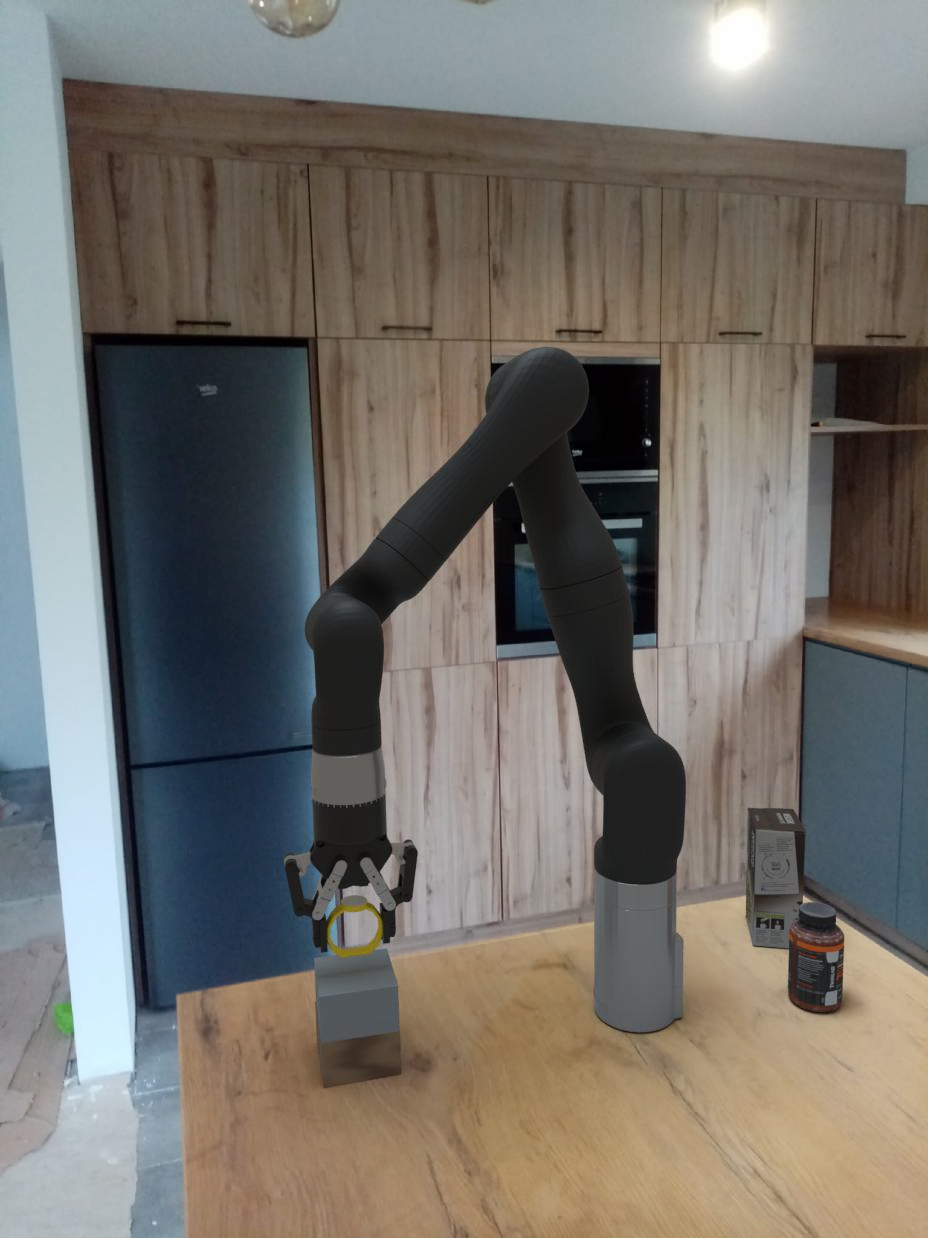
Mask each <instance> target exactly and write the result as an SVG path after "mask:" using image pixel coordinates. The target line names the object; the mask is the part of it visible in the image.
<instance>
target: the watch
mask: <svg viewBox="0 0 928 1238" xmlns="http://www.w3.org/2000/svg"><path fill="white" fill-rule="evenodd" d="M365 910H366V911H369V912H372V913H373V915H374V917H375V918H376V919H377V925H378V927H377V929H376V932H375V935H374V937H373V938H372V939H371V940H370V942H369V943H367V944H366V945H363V946H358V947H351V948H345V949H342V948H341V947H339V946H337V945H336V944H334V941H333V940H332V938H331V928H332V926H333V924H334V922H335V920H336V919H337V917H339V916H341V914H343V913H344V912H346V913H359V912H362V911H365ZM326 922H327V946H329V947H328V948H329V949H330V950H331V952H332V953H333V954H335V955H338V956H340V957H341V958H346V957H352V956H358V955H366V954H368V955H369V954H371V952H372V951H373V950H376V949H377V947H379V945H380V944H381V941H382V936H383V922H382V917H381V915H380V911H379V910H378V909H377V907H376V906H375V905H374V904H372V903H371V902H369V901H368V899H367V897H365V896H362V895H357V894H355V895H353V894H352V895H346V896H345V897H343V898H342V899H341V900H340V904H339V905H337V906H336V907H334V908H333V909H332V910H331V912H330V914H329V915H328V917H327V918H326Z"/></svg>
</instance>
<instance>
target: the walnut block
mask: <svg viewBox="0 0 928 1238" xmlns="http://www.w3.org/2000/svg"><path fill="white" fill-rule="evenodd" d="M314 1005H315V1006H314V1007H315V1008H314V1009H315V1026H316V1027H315V1029H316V1032H315V1033H316V1046H317V1052H318V1058H319V1066H320V1072H321V1078H322V1085H323V1086H322V1087H323V1089H329V1088H333V1087H340V1086H346V1085H351V1084H356V1083H363V1082H368V1081H373V1080H378V1079H379V1080H380V1079H386V1078H390V1077H396V1076H401V1075H402V1052H401V1051H402V1047H401V1030H400V1031H399V1032H392V1033H386V1034H379V1035H373V1036H366V1037H360V1038H353V1039H347V1040H340V1041H334V1042H328V1043H322V1044H321V1037H320V1029H319V1021H318V1013H317V1005H316V1001H314Z"/></svg>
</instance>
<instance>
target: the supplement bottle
mask: <svg viewBox="0 0 928 1238" xmlns="http://www.w3.org/2000/svg"><path fill="white" fill-rule="evenodd" d="M798 917H799V919H797V920H795V921H794V922H793V923H792V924H791V926H790V931H789V949H788V961H787V962H788V965H787V967H788V970H787V971H788V972H787V994H788V996H789V999H790V1000H791V1001H792V1002H793V1003H794V1004H795V1005H797V1006H798V1007H799V1008H802V1009H804V1010H807V1011H811V1012H814V1013H815V1012H816V1013H830V1012H831V1013H832V1012H834V1011H836V1010H838V1009H840V1007H841V1006H842V1001H843V991H844V990H843V989H844V986H843V983H844V960H845V959H844V957H845V956H844V955H845V954H844V953H845V933H844V931H843V930H842V929H841V927H840V926H838V925H837V911H836V910H835V908H834V907H832V906H831V905H828V904H826V903H823V902H815V901H812V902H811V901H810V902H809V901H807V902H803V904H801V905H800V906H799V914H798Z"/></svg>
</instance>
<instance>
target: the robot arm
mask: <svg viewBox="0 0 928 1238" xmlns="http://www.w3.org/2000/svg"><path fill="white" fill-rule="evenodd" d="M589 386H590V385H589V380H588V376H587V373H586V371H585V369H584V367H583V365H582V363H581V362H580V361H579V360H578V359H577V358H576V357H575V356H574V355H573V354H572V353H570V352H568V351H567V350H565V349H563V348H559V347H555V346H542V347H541V346H540V347H535V348H531V349H529V350H525V351H523V352H521V353H519V354H518V355H516V356H515V357H513V358H512V359H510V360H509V361H507V362H506V363H504V364H503V365H501V366H500V367H499V368H497V370H495V372H494V373H493V374H492V375H491V377H490V380H489V381H488V383H487V386H486V389H485V395H484V406H485V407H484V408H485V416H484V417H483V419H482V420H481V422H479V424H478V425H477V427H476V428H475V429H474V430H473V432H472V433H471V435H470V436H469V437H468V438H467V439H466V440H465V441H464V443H463V444H461V446H460V447H459V448H458V449H457V451H456V452H455V453H454V454H453V455H452V456H451V457H450V458H449V459H448V460H447V461H446V462H445V463H444V464H443V465H442V466H441V467H439V469H438V470H437V471H436V472H434V473H433V474H432V475H431V476H430V478H428V479H427V480H426V481H425V482H424V483H423V484H422V485H421V486H420V487H419V488H418V489H417V490H416V491H415V492H414V493H413V494H412V495H411V496H410V497H409V498H408V499H407V500H406V502H404V503H403V504H402V506H401V507H400V508H399V509H398V510H397V511H396V513H395V514H394V515H393V516H392V517H391V518H390V520H389V521H388V522H387V523H386V525H384V527H383V528H382V529H381V530H380V531H379V532H378V534H377V535H376V536H375V538H374V539H373V540H372V541H371V543H370V544H369V545H368V547H367V548H366V550H365V551H364V552H363V553H362V555H361V556H360V557H359V558H358V559H357V560H356V561H354V563H352V565H351V566H349V567H348V568H346V570H345V571H344V572H343V573H342V574H341V575H340V576H339V577H337V578H336V580H334V582H333V583H332V584H331V585H330V586H329V587H328V588H327V589H326V590H325V591H324V592H323V593H322V594H321V595H320V597H319V598H317V600H316V601H315V602H314V604H313V605H312V606H311V608H310V610H309V612H308V613H307V616H306V618H305V622H304V636H305V640H306V643H307V645H308V646H309V647H310V649H311V650H312V651H313V664H314V678H315V679H314V686H315V697H314V698H313V701H312V704H311V715H310V716H311V718H310V719H311V738H312V739H311V740H312V741H311V742H312V756H311V757H312V758H311V764H310V765H311V766H310V767H311V768H310V780H311V781H310V783H311V787H310V791H311V801H312V802H311V803H312V808H311V809H312V828H313V841H312V845H311V847H310V849H309V851H307V852H304V853H300V854H294V853H293V852H288V853H286V854H285V855H284V857H283V862H284V870H285V875H286V878H287V884H288V889H289V890H288V891H289V893H290V898H291V899H290V900H291V903H292V909H293V913H294V915H295V916H296V917H299V918H300V917H303V916H305V917H309V919H311V933H312V934H311V935H312V938H311V939H312V942H313V945H314V948H315V949H319V950H320V953H321V954H323V953H328V952H329V951H328V948H329V947H328V943H327V922H326V921H327V917H326V911H327V909H328V907H329V904H330V902H332V901H333V899H334V897H335V894H336V891H337V889H338V890H344V889H345V890H346V889H348V888H351V887H359V888H363V887H369V884H370V885H371V886H372V888H373V890H374V891H375V893H376V895H377V896H378V898H379V900H380V902H379V913H380V915H381V917H382V922H383V936H382V939H381V941H382V944H383V945H385V944H391V938H394V937H395V936H396V932H397V924H396V923H397V922H396V921H397V920H396V909H397V908H398V906H399V905H401V904H403V903H409V902H411V901H412V900H413V896H414V887H415V882H416V881H415V879H416V874H417V873H416V870H417V865H418V856H419V853H418V849H417V847H416V845H415V843H414V842H413V840H411V839H409V838H408V839H405V840H404V841H403V842H391V841H390V839H389V838H388V830H387V829H388V828H387V826H388V825H387V822H388V821H387V799H386V798H387V797H386V795H387V794H386V792H387V791H386V789H387V778H386V768H385V761H384V754H383V747H382V745H383V744H382V743H383V742H382V719H381V718H382V717H381V709H380V708H381V707H380V697H381V690H382V683H383V671H384V659H385V640H384V630H383V629H384V628H383V626H382V625H383V624H384V622H386V620H388V618H389V617H390V616H391V615H392V613H393V612H394V611H395V610H396V609H397V608H398V607H399V606H401V604H403V603H404V602H408V601H410V600H412V599H414V598H415V597H416V596H417V595H419V593H420V592H421V591H422V590H423V589H424V588H425V587H426V586H427V585H428V583H429V582H430V581H431V580H432V578H433V577H434V576H435V575H436V574H437V573H438V571H440V569H441V567H442V566H444V564H445V562H447V561H448V560H449V558H450V556H451V555H452V554H453V553H454V552H455V550H456V549H457V548H458V547H459V545H460V544H461V543H462V542H463V541H464V539H465V538H466V536H467V535H469V532H470V531H471V530H472V529H473V528H474V527H475V526H476V525H477V523H478V521H480V520H481V518H482V517H483V516H484V514H485V513H486V512H487V511H488V510H489V509H490V507H491V506H492V505H493V504H494V502H495V501H497V499H498V498H499V497H500V496H501V495H502V493H503V492H504V491H505V490H506V489H507V488H508V487H509V486H510V485H512V486H513V489H514V492H515V494H516V495H515V496H516V498H517V501H518V505H519V510H520V514H521V519H522V523H523V527H524V532H525V536H526V540H527V543H528V547H529V551H530V554H531V558H532V562H533V566H534V570H535V573H536V579H537V582H538V587H539V589H540V590H539V591H540V595H541V597H542V602H543V606H544V610H545V613H546V616H547V620H548V623H549V624H550V628H551V631H552V635H553V637H554V641H555V643H556V647H557V651H558V653H559V656H560V659H561V661H562V664H563V667H564V670H565V673H566V675H567V678H568V680H569V683H570V686H571V689H572V692H573V696H574V700H575V704H576V709H577V715H578V720H579V721H578V722H579V726H580V733H581V738H582V745H583V746H582V747H583V751H584V752H583V753H584V757H585V764H586V765H585V766H586V768H587V773H588V775H589V778H590V780H591V782H592V784H593V786H594V787H595V788H596V790H597V791H598V792H599V793H600V795H602V796H603V798H602V799H603V802H602V803H603V805H602V806H603V809H602V811H603V812H602V813H603V814H602V835H601V836H600V837H599V838H598V839H596V841H595V843H594V848H593V904H594V905H593V911H594V912H593V923H594V924H593V929H594V930H593V938H594V939H593V940H594V941H593V943H594V944H593V950H594V953H593V963H594V964H593V968H594V969H593V983H594V984H593V998H594V999H593V1002H594V1003H593V1004H594V1005H593V1006H594V1011H595V1014H596V1016H597V1017H598V1018H600V1020H602V1022H604V1023H605V1024H607V1025H609V1026H610V1027H613V1028H616V1029H619V1030H620V1031H621V1030H622V1031H625V1032H631V1033H651V1032H656V1031H660V1030H662V1029H664V1028H666V1027H667V1026H669V1025H670V1024H672V1022H673V1021H675V1020H676V1019H681V1018H682V1019H683V1016H684V1015H683V1013H684V1008H683V1007H684V1000H683V999H684V945H685V944H684V939H683V936H682V935H681V934H680V933H679V932H677V895H678V894H677V893H678V892H677V889H678V888H677V884H678V883H677V882H678V881H677V880H678V877H677V873H678V872H677V871H678V858H679V856H680V854H681V852H682V849H683V845H684V840H685V823H686V821H685V820H686V806H687V805H686V803H687V779H686V777H687V776H686V770H685V765H684V761H683V759H682V757H681V755H680V754H679V752H678V751H677V749H676V748H675V747H674V746H673V745H672V744H671V743H670V742H668V741H666V740H665V739H664V738H662V737H661V736H660V735H659V734H657V733H655V731H654V729H653V728H652V725H651V724H650V720H649V719H648V717H647V713H646V710H645V708H644V705H643V703H642V698H641V696H640V693H639V690H638V686H637V682H636V678H635V672H634V635H635V634H634V633H635V631H634V615H633V606H632V601H631V595H630V591H629V587H628V584H627V583H628V582H627V579H626V576H625V571H624V568H623V566H622V565H623V564H622V561H621V557H620V555H619V551H618V549H617V547H616V545H615V542H614V540H613V537H612V536H611V534H610V533H609V531H608V528H607V527H606V525H605V524H604V522H603V520H602V519H601V517H600V516H599V514H598V512H597V510H596V509H595V507H594V505H593V504H592V502H591V501H590V499H589V497H588V495H587V494H586V492H585V491H584V489H583V487H582V484H581V482H580V479H579V477H578V474H577V471H576V470H577V469H576V468H575V464H574V460H573V455H572V451H571V448H570V443H569V437H568V432H569V431H570V430H571V429H573V427H575V426H576V424H578V422H579V421H580V420H581V418H582V416H583V415H584V413H585V411H586V409H587V405H588V402H589V395H590V387H589ZM392 855H394V858H395V861H396V863H397V864H398V865H399V871H398V878H397V886H396V887H394V888H392V889H390V887H389V886H388V884H387V882H386V881H385V878H384V876H383V874H382V872H381V871H382V870H383V868H384V866H385V865H386V863H387V862H388V860H389V858H390V857H391V856H392ZM309 865H312V866H313V867H314V868H315V869H316V870H317V872H319V874H320V877H319V879H318V882H317V886H316V890H315V892H314V894H313V896H312V898H311V899H310V898H306V897H305V896H304V891H303V886H302V881H301V878H302V877H304V876H305V875H306V874H307V868H308V866H309Z"/></svg>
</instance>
